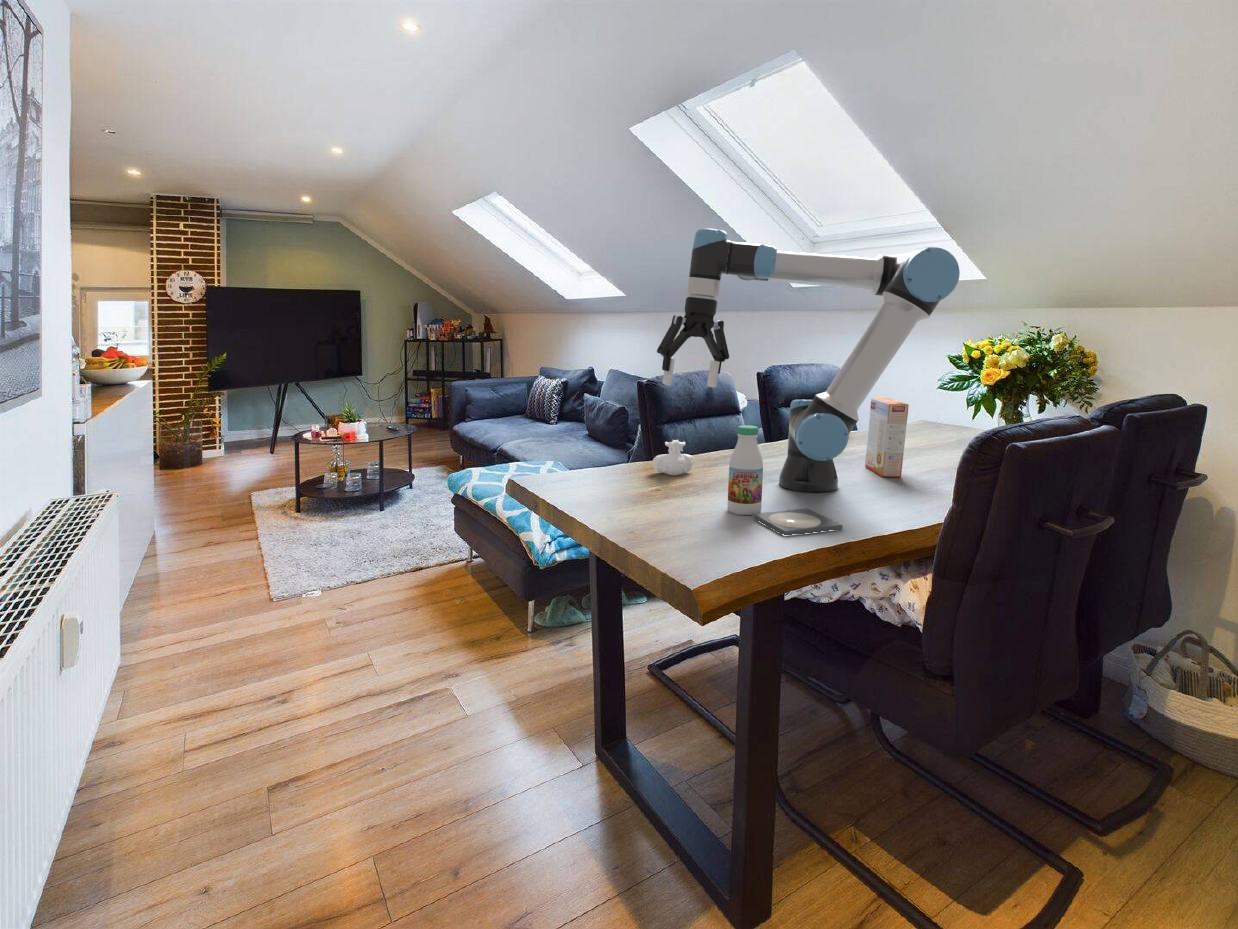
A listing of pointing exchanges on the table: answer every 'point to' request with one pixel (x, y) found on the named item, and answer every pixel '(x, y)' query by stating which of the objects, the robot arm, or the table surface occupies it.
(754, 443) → the milk bottle
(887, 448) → the cracker box
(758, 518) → the slate board
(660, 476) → the table surface
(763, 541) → the table surface
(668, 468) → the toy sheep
